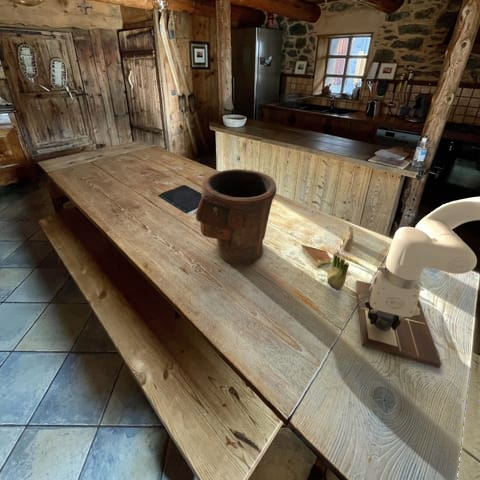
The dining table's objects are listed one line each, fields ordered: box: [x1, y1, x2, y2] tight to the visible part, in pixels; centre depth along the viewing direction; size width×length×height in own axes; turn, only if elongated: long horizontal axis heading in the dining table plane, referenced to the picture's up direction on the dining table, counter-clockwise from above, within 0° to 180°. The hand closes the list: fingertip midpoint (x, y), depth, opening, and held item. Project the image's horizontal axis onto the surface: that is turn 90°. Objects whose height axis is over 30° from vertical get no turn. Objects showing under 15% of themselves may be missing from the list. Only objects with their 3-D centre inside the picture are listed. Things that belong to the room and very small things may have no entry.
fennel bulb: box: [326, 252, 350, 290], centre depth 87 cm, size 6×5×12 cm
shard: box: [300, 244, 333, 267], centre depth 102 cm, size 11×8×2 cm
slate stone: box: [374, 310, 395, 331], centre depth 73 cm, size 5×5×4 cm
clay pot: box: [195, 168, 278, 266], centre depth 97 cm, size 25×29×30 cm
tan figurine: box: [336, 225, 354, 255], centre depth 106 cm, size 7×4×12 cm
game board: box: [355, 280, 442, 369], centre depth 78 cm, size 18×22×2 cm
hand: (381, 322), depth 73 cm, fingers closed on slate stone, 4 cm apart
